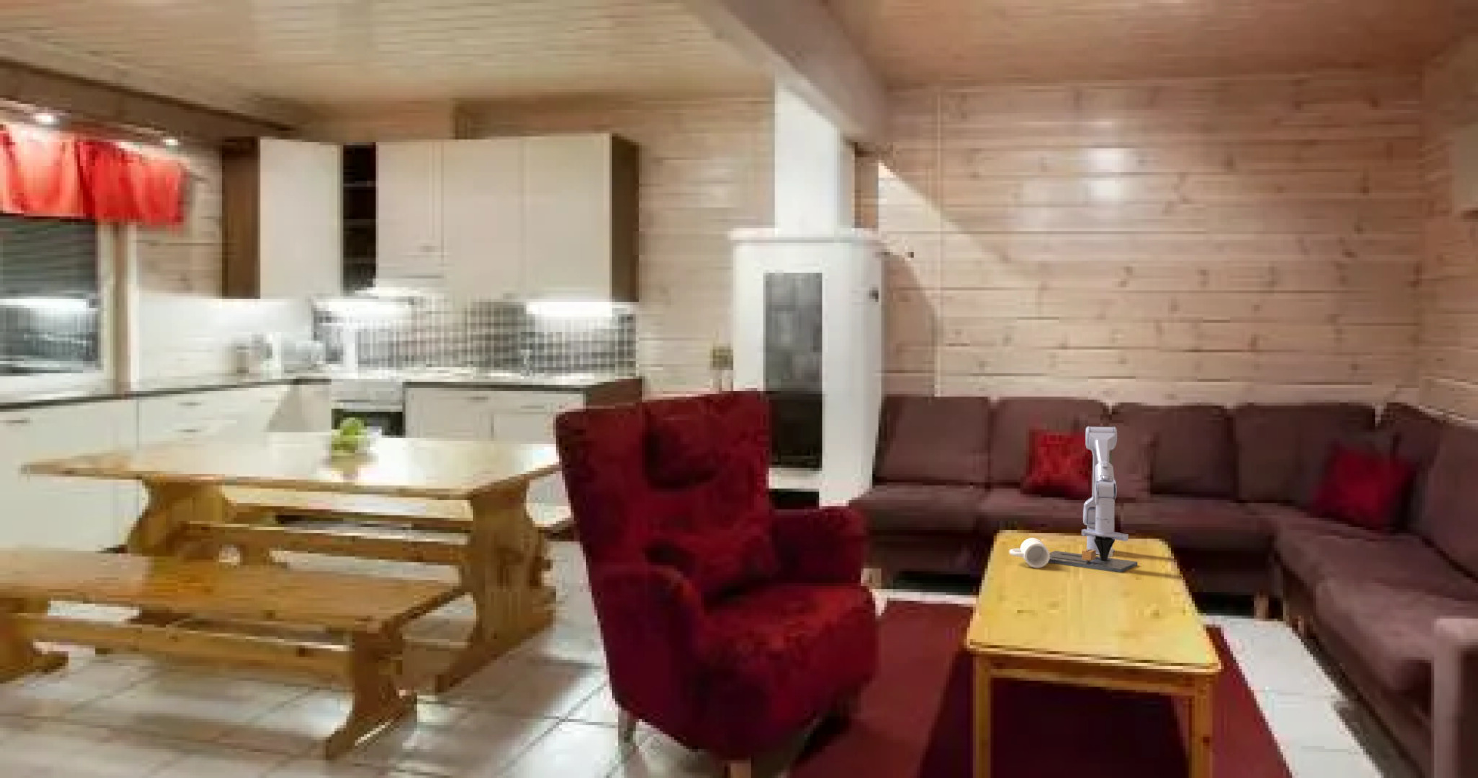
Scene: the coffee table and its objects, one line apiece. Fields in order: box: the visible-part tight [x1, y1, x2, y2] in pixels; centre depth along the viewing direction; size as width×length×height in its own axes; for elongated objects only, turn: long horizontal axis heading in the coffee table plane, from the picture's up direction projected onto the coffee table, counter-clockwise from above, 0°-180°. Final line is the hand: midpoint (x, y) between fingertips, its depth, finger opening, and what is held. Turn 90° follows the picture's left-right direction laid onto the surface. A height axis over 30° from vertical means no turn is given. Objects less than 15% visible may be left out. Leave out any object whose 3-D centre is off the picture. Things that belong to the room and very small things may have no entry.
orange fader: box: [1081, 548, 1097, 562], centre depth 368 cm, size 4×3×4 cm
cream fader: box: [1098, 547, 1114, 558], centre depth 372 cm, size 4×3×4 cm
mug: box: [1008, 537, 1051, 569], centre depth 370 cm, size 12×10×8 cm
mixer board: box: [1047, 550, 1138, 574], centre depth 372 cm, size 14×28×1 cm, turn 51°
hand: (1104, 560), depth 365 cm, fingers closed
